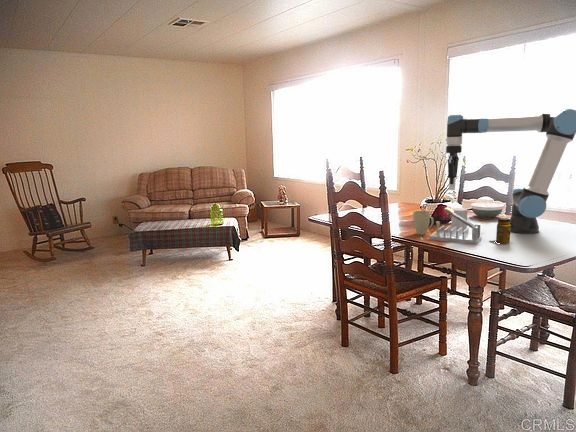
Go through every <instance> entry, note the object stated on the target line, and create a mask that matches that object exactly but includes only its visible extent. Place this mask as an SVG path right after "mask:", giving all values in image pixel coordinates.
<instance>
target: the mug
mask: <svg viewBox="0 0 576 432" xmlns="http://www.w3.org/2000/svg"><path fill="white" fill-rule="evenodd" d="M412 215H413V225H414V229H415V233H416V234H417V235H426V234H427V232H428V230H429V229H430V228H432V227H433V225H434V223H435V221H434V220H435V219H434V217H432V216H431V211H429V210H428V211H427V210H414V211H413V212H412ZM430 220H431V221H430ZM430 223H431V224H430ZM429 225H430V226H429Z"/></svg>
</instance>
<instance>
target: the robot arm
mask: <svg viewBox="0 0 576 432" xmlns="http://www.w3.org/2000/svg"><path fill="white" fill-rule="evenodd" d="M446 123H447V124H446V138H445V141H446V144H445V145H446V148H445V152H446V154H449V156H448V159H447V169H448V170H447V175H448V176H447V178H448V180H449V181H448V183H449V184H448V191H456V178H458V166H459V161H460V157H459V155H458V154H460V153H462V149H463V147H462V144H463V134H484V133H498V132H503V133H505V132H531V131H532V132H533V131H536V132H538V133H545V136H546V138H547V139H546V141H545V144H544V147H543V149H542V152H541V154H540V156H539V159H538V161H537V164H536V165H535V169H534V170H533V173H532V175H531V178H530V180H529V183H528V185H526V186H523V188H514V189H513V190H512V194H511V195H512V199H511V212H510V213H511V215H510V217H509V219H510V225H511V230H510V233H511V232H512V233H518V234H536V233H539V231H540V227H539V223H538V217H540V216H542V215H543V214H544V213H545V212H546V210H547V200H548V199H549V196H550V193H549V191H548V189H549V187H550V184H551V182H552V181H553V177H554V175H555V173H556V171H557V168H558V166H559V164H560V162H561V159H562V157H563V154H564V153H565V149H566V147H567V146H568V144H569V143H570V142H572V141H574V138H575V135H576V109H573V108H563V109H558V110H555V111H550V112H540V113H539V114H538V115H522V116H520V115H519V116H516V115H515V116H502V117H501V116H498V117H470V118H467V117H466V118H465V117H464V115H463V114H450V115H448V117H447V121H446Z"/></svg>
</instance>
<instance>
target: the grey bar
mask: <svg viewBox="0 0 576 432" xmlns="http://www.w3.org/2000/svg"><path fill="white" fill-rule="evenodd" d="M452 209H453V208H450V207H449V206H447V207H445V208H443V210H442V211H444V213H447V214H449V215H450V216H453V217H455V218H456V219H458V220H459V221H461V222H463V223H464V224H466V225H467V227H468V228H470V229H472V227H478V230H479V229H480V230H481V226H480V227H479V226H475V224H473V223H472V222H470V221H469V220H468V219H467V220H465V219H464V218H462V217H461V216H459V215H457V214H456V213H454V211H453V210H452Z"/></svg>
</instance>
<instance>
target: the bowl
mask: <svg viewBox="0 0 576 432" xmlns="http://www.w3.org/2000/svg"><path fill="white" fill-rule="evenodd" d="M470 205H471V210H472V212H473V213H474V215H476V216H477V217H478V218H480V219H489V220H491V219H494V218H496V217H498V216H500V215H501V214H502V212H503V208H504V207H505V205H504V204H503V203H500V202H493V201H492V202H490V201H485V202H484V201H482V202H481V201H479V202H478V201H477V202H472V203H471V204H470Z"/></svg>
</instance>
